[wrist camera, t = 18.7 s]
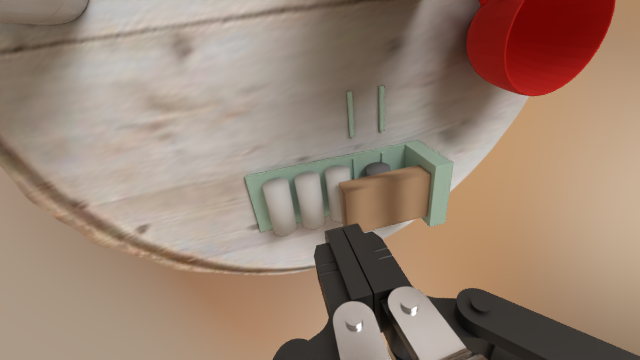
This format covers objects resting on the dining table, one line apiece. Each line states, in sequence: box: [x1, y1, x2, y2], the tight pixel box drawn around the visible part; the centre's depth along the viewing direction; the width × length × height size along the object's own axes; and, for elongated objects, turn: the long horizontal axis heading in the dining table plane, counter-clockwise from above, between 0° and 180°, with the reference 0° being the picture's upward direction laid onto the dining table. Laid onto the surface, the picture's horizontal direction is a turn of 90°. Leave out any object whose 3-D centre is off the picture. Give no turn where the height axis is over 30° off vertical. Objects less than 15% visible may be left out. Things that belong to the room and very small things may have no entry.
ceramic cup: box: [466, 0, 615, 96], centre depth 32 cm, size 13×17×10 cm
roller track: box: [245, 140, 454, 236], centre depth 39 cm, size 27×10×9 cm, turn 97°
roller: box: [366, 162, 390, 177], centre depth 42 cm, size 4×6×4 cm, turn 7°
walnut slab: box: [339, 165, 431, 232], centre depth 38 cm, size 12×7×3 cm, turn 97°
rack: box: [347, 85, 384, 137], centre depth 38 cm, size 5×6×1 cm
